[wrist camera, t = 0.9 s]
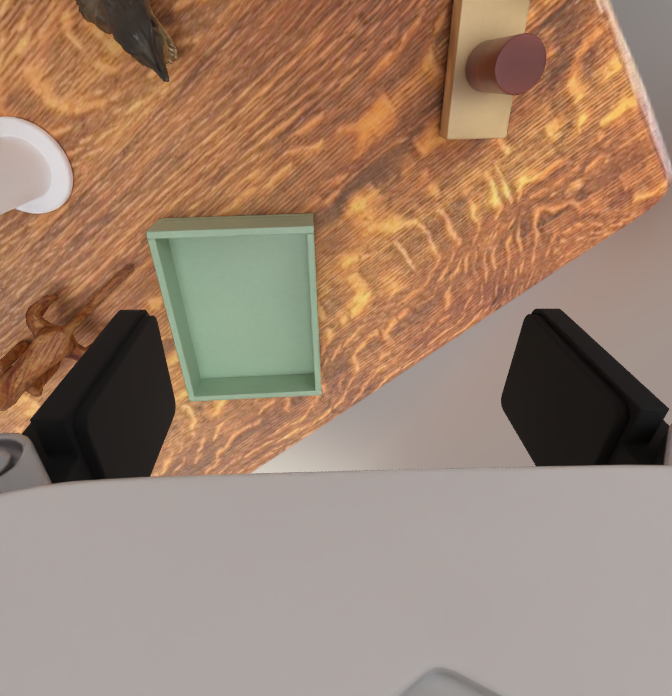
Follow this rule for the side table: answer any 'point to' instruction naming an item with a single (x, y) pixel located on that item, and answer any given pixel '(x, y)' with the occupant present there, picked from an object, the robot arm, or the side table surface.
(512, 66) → the stamp
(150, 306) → the side table surface
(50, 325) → the wooden animal figurine
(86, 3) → the shark head
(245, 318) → the tray
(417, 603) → the robot arm
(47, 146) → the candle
